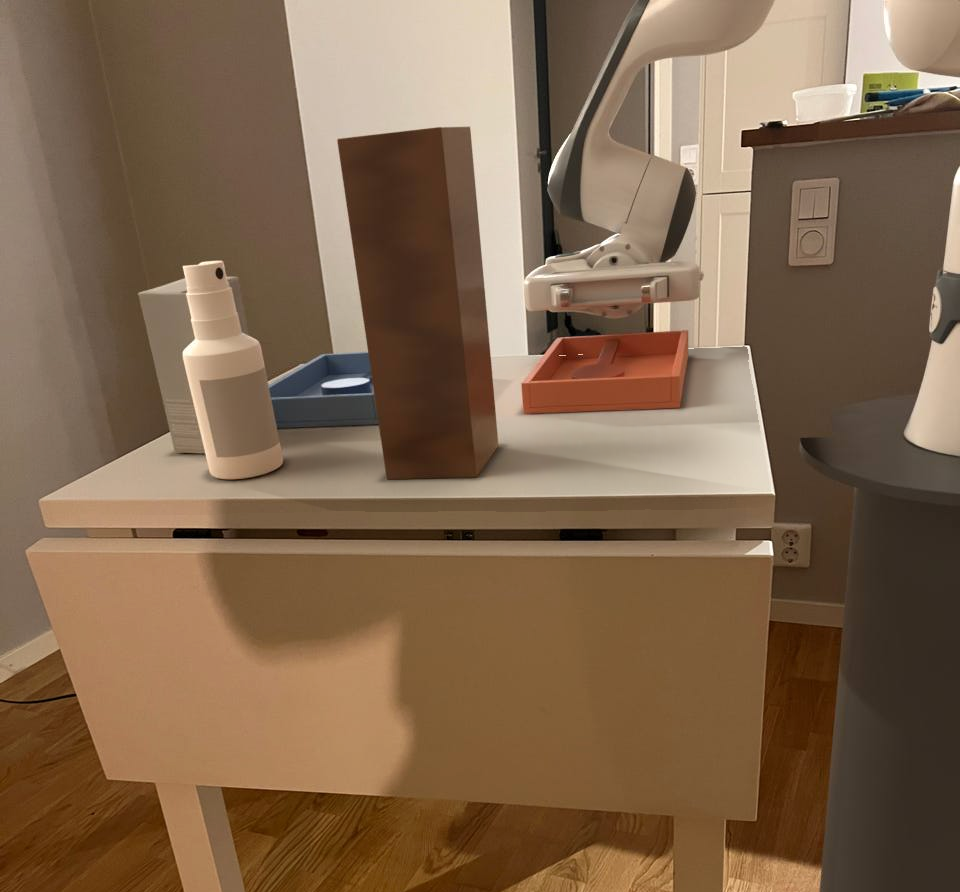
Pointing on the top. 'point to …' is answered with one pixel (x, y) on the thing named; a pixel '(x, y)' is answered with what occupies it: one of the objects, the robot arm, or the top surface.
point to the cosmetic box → (177, 355)
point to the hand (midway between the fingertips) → (604, 296)
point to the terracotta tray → (646, 385)
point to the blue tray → (306, 405)
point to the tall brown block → (422, 298)
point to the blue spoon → (348, 386)
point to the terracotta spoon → (602, 364)
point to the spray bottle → (228, 381)
